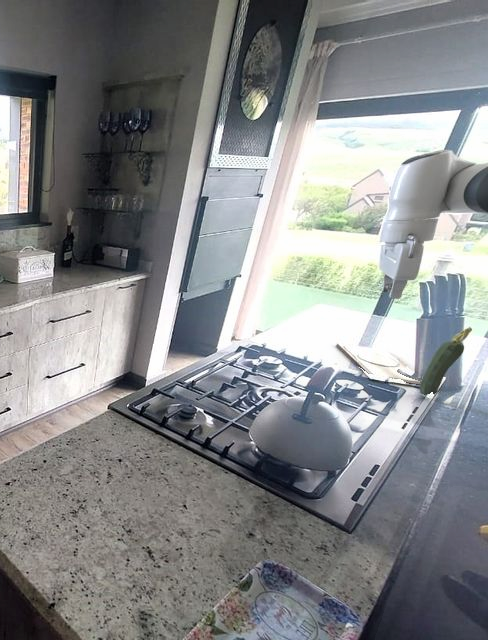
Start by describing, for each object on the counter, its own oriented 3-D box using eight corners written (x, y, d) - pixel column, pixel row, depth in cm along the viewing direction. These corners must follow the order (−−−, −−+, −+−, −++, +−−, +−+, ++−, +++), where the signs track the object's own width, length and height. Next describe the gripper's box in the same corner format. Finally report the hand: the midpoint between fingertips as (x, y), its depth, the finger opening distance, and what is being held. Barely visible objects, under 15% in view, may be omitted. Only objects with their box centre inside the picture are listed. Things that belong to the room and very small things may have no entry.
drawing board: (385, 352, 134) (387, 349, 133) (431, 389, 112) (433, 385, 111) (335, 345, 138) (337, 342, 137) (370, 379, 116) (372, 376, 115)
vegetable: (415, 398, 107) (459, 328, 98) (406, 390, 111) (448, 322, 101) (436, 401, 106) (482, 331, 97) (426, 393, 110) (470, 325, 100)
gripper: (439, 234, 81) (420, 303, 86) (415, 230, 96) (400, 288, 101) (396, 236, 85) (379, 302, 89) (380, 231, 100) (366, 287, 105)
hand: (390, 294), depth 95 cm, fingers open, 8 cm apart
